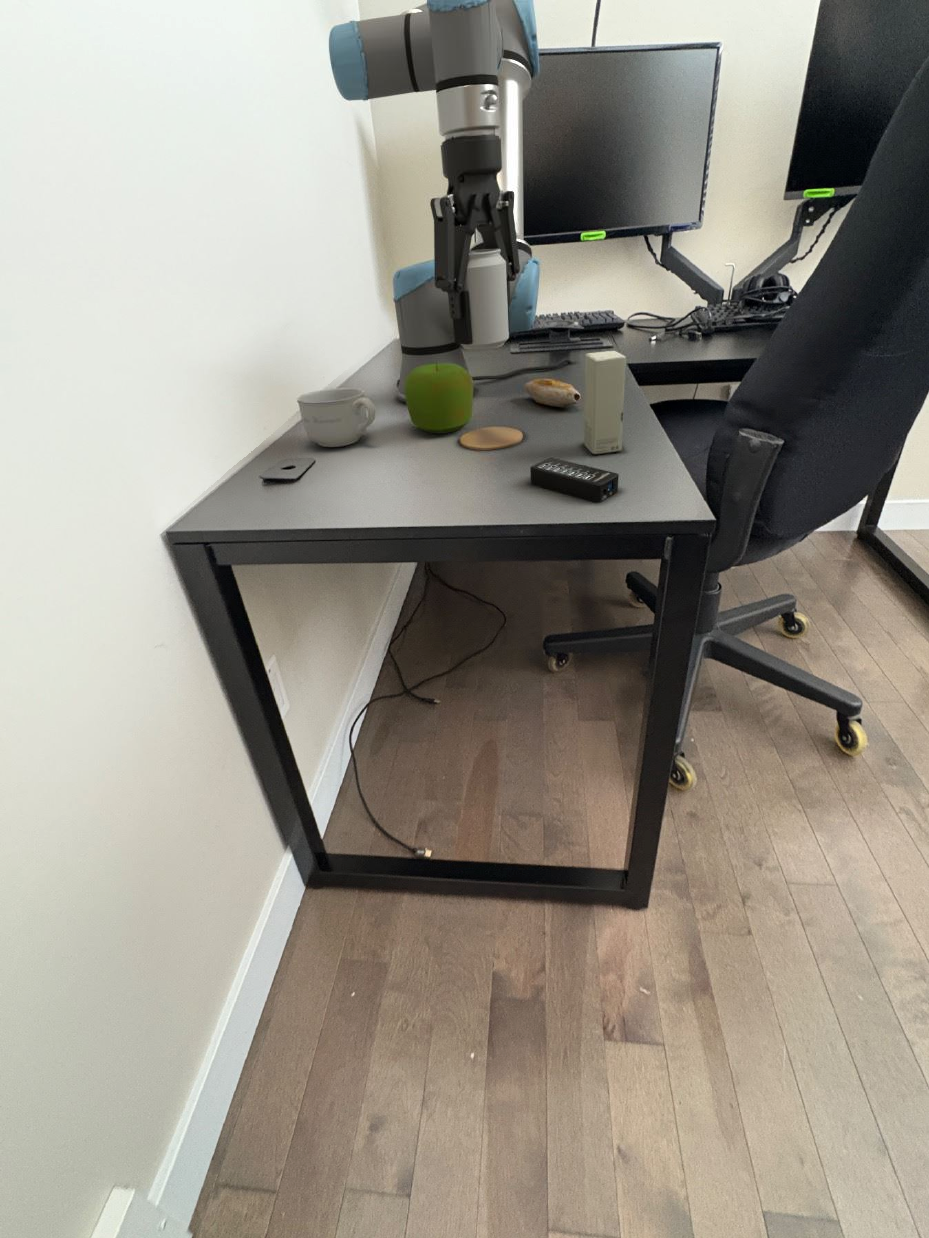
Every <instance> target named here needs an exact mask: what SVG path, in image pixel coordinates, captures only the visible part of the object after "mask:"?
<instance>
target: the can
mask: <svg viewBox="0 0 929 1238" xmlns="http://www.w3.org/2000/svg"><path fill="white" fill-rule="evenodd" d="M500 251H501V250H500V249H481V250H472V251H470V252H469V258H468V264H467V270H466V277H465V283H464V289H463V291H469V304H470V318H471V332H472V344H469V345H466V344H461V347H463V349H464V350H468V351H487V350H493V349H497V348H501V347H502V346H504V345H505V343H506V342H507V340H508V339H510V334H509V329H508V304H507V280H506V261H505V260H504V259H503V258H502V257H501V255H500ZM455 281H456V278H455Z"/></svg>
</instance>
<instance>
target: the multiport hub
mask: <svg viewBox="0 0 929 1238" xmlns="http://www.w3.org/2000/svg"><path fill="white" fill-rule="evenodd" d="M529 470H530V472H529V473H530V484H531V485H532V486H536V487H540V488H544V489H546V490H551V491H554V492H558V493H561V494H563V495H564V494H565V495H568V496H570V497H571V496H572V497H574V498H579V499H583V500H586V501H589V502H593V503H601V502H603V501H605V500H607V499H609V497H612V496H613V495H615V494H617V493H618V491H619V479H620V477H619V476H620V474H619V473H617V472H613V471H609V470H605V469H601V468H596V467H593V466H588V465H584V464H580V463H577V462H576V463H575V462H571V461H568V460H564V459H560V458H554V457H548V458H546V459H544V460H542V461H539V462H537V463H535V464H533V465H531V466H530V467H529Z"/></svg>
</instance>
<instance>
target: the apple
mask: <svg viewBox="0 0 929 1238" xmlns="http://www.w3.org/2000/svg"><path fill="white" fill-rule="evenodd" d="M435 362H436V364H430V365H424V366H419V367H416V368H414V369H413V371H412V372H411V373H410V374H409V375H408V377H407V378H406V379H405V387H404V393H405V398H406V403H405V404H406V408H407V412H408V414H409V417H410V421H411V423H412V424H413V426H415V427H417V428H419V429H421V430H423V431H424V432H428V433H432V434H448V433H452V432H457V431H458V430H461V429H463V428H464V427H465V426H466V425H467V424H468V423H469V422H470V421H471V420H472V419H473V405H474V403H473V402H474V401H473V399H474V392H473V384H474V382H473V383H472V379H471V377H472V375H471V373H470V372H469V373H468V372H467V371H466V370H465V369H463V368H462V367H461V366H459V365H457V364H452V363H439V364H437V361H435ZM470 375H471V376H470Z"/></svg>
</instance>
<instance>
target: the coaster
mask: <svg viewBox="0 0 929 1238" xmlns="http://www.w3.org/2000/svg"><path fill="white" fill-rule="evenodd" d="M523 435H524V434H523V432H522V431H521V430H520V429H517V428H515V427H508V426H488V427H481V428H477V429H473V430H470V431H467V432H465V433H463V434H462V435H461V436H460V438H459V443H460V445H461V446H462V447H464V448H467V449H470V450H476V451H494V450H502V449H506V448H509V447H512V446H515V445H517V444H519V443H520V442H521V441H523V438H524V436H523Z"/></svg>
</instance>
